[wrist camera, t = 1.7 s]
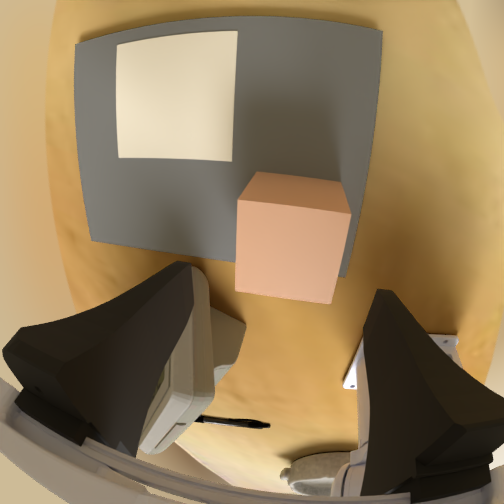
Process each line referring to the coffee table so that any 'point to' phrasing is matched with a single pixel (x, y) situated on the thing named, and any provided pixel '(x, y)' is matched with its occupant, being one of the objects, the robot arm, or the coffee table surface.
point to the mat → (218, 123)
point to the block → (290, 237)
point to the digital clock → (192, 370)
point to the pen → (233, 422)
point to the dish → (315, 473)
